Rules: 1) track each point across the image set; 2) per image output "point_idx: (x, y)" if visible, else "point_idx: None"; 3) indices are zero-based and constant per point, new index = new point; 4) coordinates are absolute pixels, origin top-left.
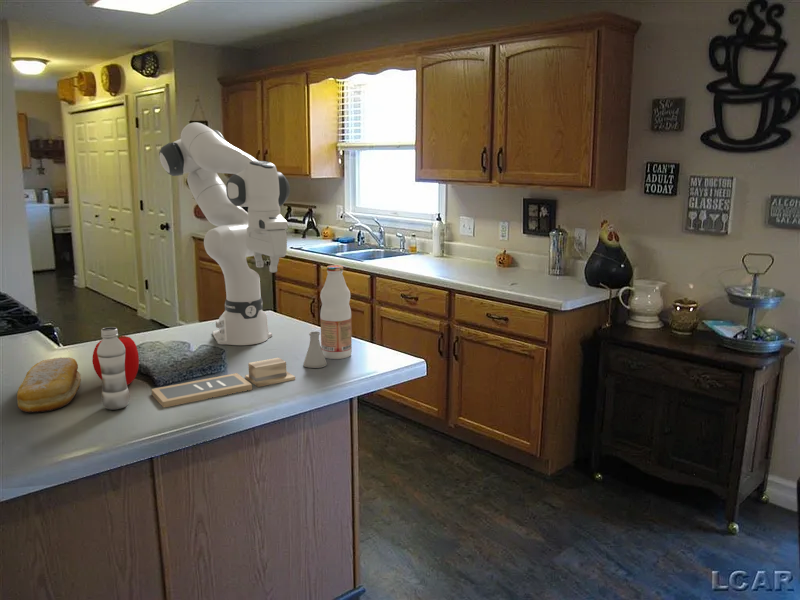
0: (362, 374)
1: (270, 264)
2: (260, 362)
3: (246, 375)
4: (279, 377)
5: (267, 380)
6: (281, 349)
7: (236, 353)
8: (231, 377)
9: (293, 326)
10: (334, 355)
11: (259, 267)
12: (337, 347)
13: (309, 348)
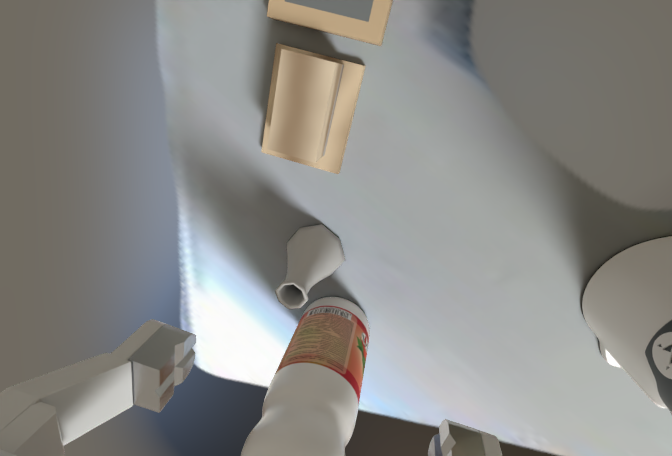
0: (201, 262)
1: (105, 367)
2: (313, 94)
3: (358, 66)
4: None
5: None
6: (482, 290)
7: (576, 193)
8: (357, 4)
9: (616, 441)
10: (311, 305)
11: (442, 424)
12: (301, 321)
13: (305, 258)
